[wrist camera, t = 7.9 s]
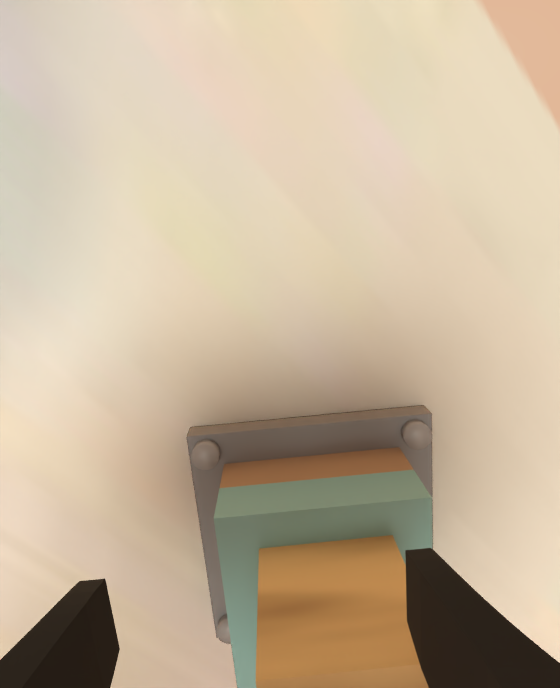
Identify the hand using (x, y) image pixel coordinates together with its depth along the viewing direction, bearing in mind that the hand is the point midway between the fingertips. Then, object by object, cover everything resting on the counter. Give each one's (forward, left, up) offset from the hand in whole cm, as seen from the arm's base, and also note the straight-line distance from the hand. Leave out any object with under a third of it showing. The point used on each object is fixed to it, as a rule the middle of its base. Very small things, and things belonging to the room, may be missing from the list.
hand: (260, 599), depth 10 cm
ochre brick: (-5, -2, -5) cm, 8 cm away
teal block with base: (-5, -2, -10) cm, 12 cm away
